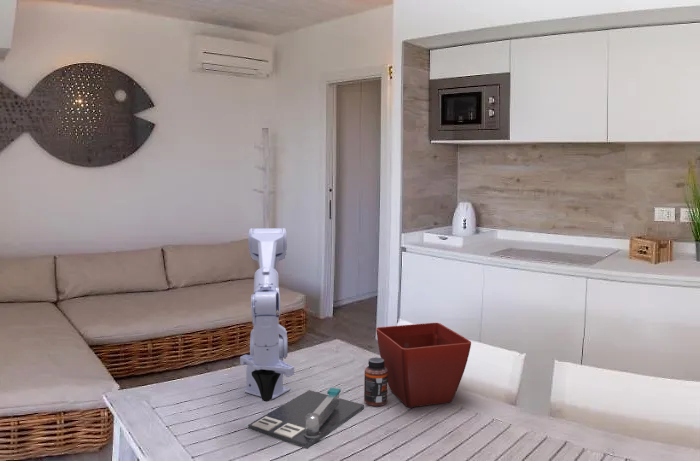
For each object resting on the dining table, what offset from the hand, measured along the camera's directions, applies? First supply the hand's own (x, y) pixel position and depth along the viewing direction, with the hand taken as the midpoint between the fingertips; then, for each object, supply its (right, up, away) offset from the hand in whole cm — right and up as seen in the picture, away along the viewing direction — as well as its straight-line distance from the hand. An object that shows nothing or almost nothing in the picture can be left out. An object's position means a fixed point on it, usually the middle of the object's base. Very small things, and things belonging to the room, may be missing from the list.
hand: (267, 399), depth 136 cm
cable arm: (+14, -5, +4) cm, 15 cm away
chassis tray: (+9, -6, +6) cm, 13 cm away
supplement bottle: (+26, -5, +16) cm, 31 cm away
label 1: (0, -7, +1) cm, 7 cm away
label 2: (+5, -7, -3) cm, 9 cm away
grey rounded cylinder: (+11, -8, -4) cm, 14 cm away
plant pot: (+38, -5, +20) cm, 43 cm away
